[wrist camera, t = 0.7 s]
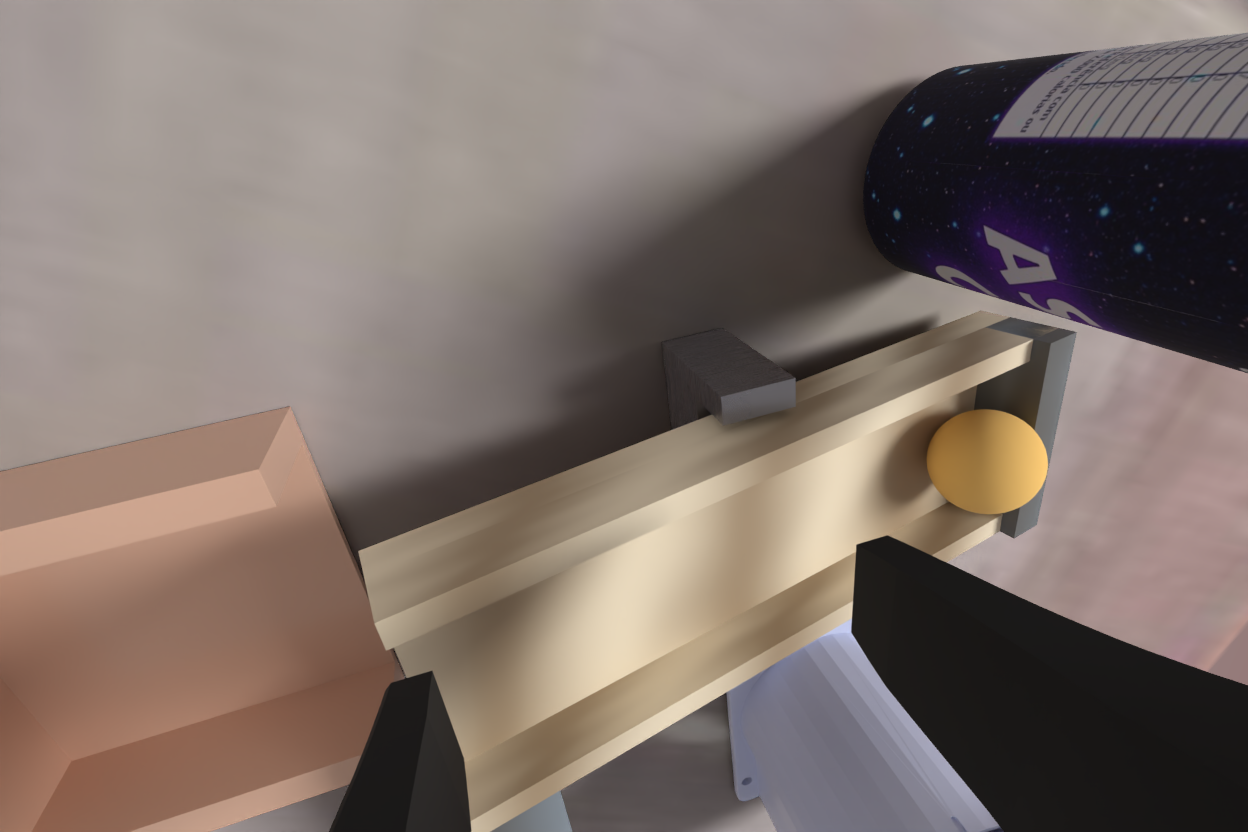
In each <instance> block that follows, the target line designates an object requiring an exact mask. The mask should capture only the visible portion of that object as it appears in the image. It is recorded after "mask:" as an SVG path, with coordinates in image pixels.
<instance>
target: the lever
mask: <svg viewBox="0 0 1248 832" xmlns="http://www.w3.org/2000/svg"><path fill="white" fill-rule="evenodd" d="M1076 333H1077V332H1074V331H1069V330H1065V329H1060V328H1056V327H1051V326H1047V325H1042V324H1038V323H1034V322H1029V321H1025V320H1020V319H1016V318H1011V317H1007V316H1002V315H998V314H993V313H989V312H984V311H979V312H976V313H974V314H971V315H968V316H966V317H963V318H961V319H958V320H955V321H953V322H950V323H948V324H945V325H942V326H940V327H937V328H935V329H932V330H930V331H927V332H924V333H922V334H919V335H917V336H914V337H911V338H909V339H906V340H904V341H901V342H898V343H896V344H893V345H891V346H888V347H885V348H883V349H880V350H878V351H875V352H873V353H870V354H867V355H865V356H862V357H860V358H857V359H854V360H852V361H849V362H847V363H844V364H841V365H839V366H836V367H834V368H831V369H828V370H826V371H823V372H821V373H818V374H816V375H813V376H810V377H808V378H805V379H803V380H800V381H797V382H796V407H793V408H789V409H785V410H781V411H778V412H774V413H770V414H766V415H762V416H759V417H755V418H751V419H747V420H743V421H740V422H736V423H732V424H728V425H724V426H723V425H722V424H721V423H720V422H719V421H718V420H717V419H716V418H715V417H714V416H713V415H709V416H707V417H704V418H702V419H699V420H696V421H694V422H691V423H689V424H686V425H683V426H681V427H678V428H676V429H673V430H671V431H668V432H665V433H663V434H660V435H658V436H655V437H652V438H650V439H647V440H645V441H642V442H639V443H637V444H634V445H632V446H629V447H626V448H624V449H621V450H619V451H616V452H614V453H611V454H608V455H606V456H603V457H601V458H598V459H595V460H593V461H590V462H588V463H585V464H582V465H580V466H577V467H575V468H572V469H570V470H567V471H564V472H562V473H559V474H557V475H554V476H551V477H549V478H546V479H544V480H541V481H538V482H536V483H533V484H531V485H528V486H525V487H523V488H520V489H518V490H515V491H513V492H510V493H507V494H505V495H502V496H500V497H497V498H494V499H492V500H489V501H487V502H484V503H481V504H479V505H476V506H474V507H471V508H469V509H466V510H463V511H461V512H458V513H456V514H453V515H450V516H448V517H445V518H443V519H440V520H437V521H435V522H432V523H430V524H427V525H424V526H422V527H419V528H417V529H414V530H412V531H409V532H406V533H404V534H401V535H399V536H396V537H393V538H391V539H388V540H386V541H383V542H380V543H378V544H375V545H373V546H370V547H368V548H365V549H362V550H360V551H358V552H359V557H360V561H361V566H362V570H363V575H364V579H365V584H366V588H367V593H368V597H369V602H370V606H371V611H372V615H373V620H374V624H375V626H376V628H377V631H378V633H379V635H380V638H381V640H382V642H383V645H384V647H385V649H386V651H387V650H389V649H391V648H394V649H395V652H396V654H397V657H398V659H399V661H400V664H401V666H402V668H403V671H404V673H405V675H406V678H409V677H412V676H416V675H419V674H422V673H426V672H429V671H433V674H434V676H435V679H436V682H437V685H438V687H439V690H440V693H441V696H442V699H443V701H444V704H445V707H446V710H447V712H448V715H449V718H450V721H451V724H452V726H453V729H454V732H455V735H456V737H457V740H458V743H459V746H460V748H461V751H462V754H463V757H464V762H465V771H466V780H467V790H468V799H469V810H470V820H471V832H572V828H571V825H570V822H569V818H568V815H567V811H566V808H565V805H564V801H563V798H562V795H561V791H560V790H562V789H563V788H565V787H567V786H569V785H570V784H572V783H574V782H575V781H577V780H579V779H580V778H582V777H584V776H585V775H587V774H589V773H591V772H592V771H594V770H596V769H597V768H599V767H601V766H602V765H604V764H606V763H607V762H609V761H611V760H613V759H614V758H616V757H618V756H619V755H621V754H623V753H624V752H626V751H628V750H630V749H631V748H633V747H635V746H636V745H638V744H640V743H641V742H643V741H645V740H646V739H648V738H650V737H652V736H653V735H655V734H657V733H658V732H660V731H662V730H663V729H665V728H667V727H669V726H670V725H672V724H674V723H675V722H677V721H679V720H680V719H682V718H684V717H685V716H687V715H689V714H691V713H692V712H694V711H696V710H697V709H699V708H701V707H702V706H704V705H706V704H707V703H709V702H711V701H713V700H714V699H716V698H718V697H719V696H721V695H723V694H724V693H726V692H728V691H730V690H731V689H733V688H735V687H736V686H738V685H740V684H741V683H743V682H745V681H746V680H748V679H750V678H752V677H753V676H755V675H757V674H758V673H760V672H762V671H763V670H765V669H767V668H768V667H770V666H772V665H774V664H775V663H777V662H779V661H780V660H782V659H784V658H785V657H787V656H789V655H791V654H792V653H794V652H796V651H797V650H799V649H801V648H802V647H804V646H806V645H807V644H809V643H811V642H813V641H814V640H816V639H818V638H819V637H821V636H823V635H824V634H826V633H828V632H830V631H831V630H833V629H835V628H836V627H838V626H840V625H841V624H843V623H845V622H846V621H848V620H850V619H852V609H853V593H854V576H855V560H856V544H860V543H863V542H866V541H870V540H873V539H877V538H880V537H883V536H887V535H888V536H890V537H893V538H895V539H897V540H900V541H902V542H904V543H906V544H908V545H911V546H913V547H915V548H917V549H919V550H921V551H923V552H925V553H928V554H930V555H932V556H934V557H936V558H938V559H940V560H942V561H944V562H948V561H950V560H952V559H953V558H955V557H957V556H958V555H960V554H962V553H963V552H965V551H967V550H968V549H970V548H972V547H974V546H975V545H977V544H979V543H980V542H982V541H984V540H985V539H987V538H989V537H991V536H992V535H994V534H996V533H997V532H999V531H1001V532H1003V533H1005V534H1007V535H1008V536H1010V537H1012V538H1016V537H1017V536H1019V535H1021V534H1022V533H1024V532H1026V531H1027V530H1029V529H1031V528H1032V527H1034V526H1035V525H1037V521H1038V516H1039V511H1040V506H1041V502H1042V497H1043V492H1044V487H1045V482H1046V478H1047V475H1046V478H1045V481H1044V483H1043V485H1042V487H1041V489H1040V490H1039V491H1038V493H1037V494H1036V495H1035V496H1034V497H1033V498H1032V499H1031V500H1030V501H1029V502H1027V503H1026V504H1024V505H1023V506H1021V507H1019V508H1017V509H1015V510H1012V511H1009V512H1005V513H1000V514H979V513H974V512H970V511H967V510H964V509H962V508H959V507H957V506H956V505H954V504H952V503H951V502H949V501H948V500H947V499H946V498H944V497H943V496H942V495H941V494H940V493H939V491H938V490H937V489H936V487H935V486H934V484H933V482H932V480H931V478H930V476H929V473H928V469H927V451H928V447H929V444H930V441H931V439H932V437H933V436H934V434H935V433H936V432H937V430H938V429H939V428H940V427H941V426H942V425H943V424H944V423H945V422H947V421H948V420H950V419H951V418H953V417H955V416H957V415H959V414H961V413H964V412H968V411H973V410H980V409H989V410H997V411H1002V412H1006V413H1009V414H1012V415H1014V416H1016V417H1018V418H1020V419H1021V420H1023V421H1024V422H1026V423H1027V424H1028V425H1029V426H1031V427H1032V428H1033V429H1034V431H1035V432H1036V433H1037V434H1038V435H1039V437H1040V439H1041V440H1042V442H1043V444H1044V447H1045V449H1046V453H1047V458H1048V468H1049V463H1050V458H1051V453H1052V449H1053V444H1054V439H1055V434H1056V429H1057V425H1058V420H1059V415H1060V410H1061V405H1062V400H1063V396H1064V391H1065V386H1066V381H1067V376H1068V372H1069V367H1070V362H1071V357H1072V352H1073V347H1074V343H1075V338H1076ZM1047 473H1048V469H1047Z"/></svg>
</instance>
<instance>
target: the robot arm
mask: <svg viewBox="0 0 1248 832" xmlns="http://www.w3.org/2000/svg"><path fill="white" fill-rule="evenodd" d="M726 695H727V706H728V718H729V729H730V741H731V752H732V764H733V776H734V787H735V793H736V795H737V797H738V799H739V800H740V801H748V800H751V799H754V798H756V797H759V796H760V798H761V800H762V802H763V804H764V806H765V808H766V810H767V812H768V814H769V816H770V818H771V820H772V822H773V824H774V826H775V828H776V830H777V832H1248V685H1245V684H1242V683H1238V682H1236V681H1233V680H1230V679H1226V678H1223V677H1220V676H1217V675H1214V674H1211V673H1208V672H1205V671H1203V670H1200V669H1197V668H1194V667H1191V666H1189V665H1186V664H1183V663H1180V662H1177V661H1175V660H1172V659H1169V658H1166V657H1164V656H1161V655H1158V654H1155V653H1152V652H1150V651H1147V650H1144V649H1141V648H1139V647H1136V646H1134V645H1131V644H1128V643H1126V642H1123V641H1121V640H1118V639H1116V638H1113V637H1111V636H1108V635H1106V634H1104V633H1101V632H1099V631H1096V630H1094V629H1092V628H1089V627H1087V626H1084V625H1082V624H1080V623H1077V622H1075V621H1072V620H1070V619H1067V618H1065V617H1063V616H1061V615H1058V614H1056V613H1054V612H1051V611H1049V610H1047V609H1045V608H1042V607H1040V606H1038V605H1036V604H1033V603H1031V602H1029V601H1027V600H1025V599H1022V598H1020V597H1018V596H1016V595H1014V594H1012V593H1009V592H1007V591H1005V590H1003V589H1001V588H999V587H997V586H994V585H992V584H990V583H988V582H986V581H984V580H982V579H980V578H978V577H975V576H973V575H971V574H969V573H967V572H965V571H963V570H961V569H959V568H957V567H955V566H953V565H950V564H948V563H946V562H944V561H942V560H940V559H938V558H936V557H934V556H932V555H930V554H928V553H925V552H923V551H921V550H919V549H917V548H915V547H913V546H911V545H908V544H906V543H904V542H902V541H900V540H897V539H895V538H893V537H890V536H888V535H887V536H883V537H880V538H877V539H873V540H870V541H866V542H863V543H860V544H856V560H855V576H854V593H853V609H852V619H850V620H848V621H846V622H845V623H843V624H841V625H840V626H838V627H836V628H835V629H833V630H831V631H830V632H828V633H826V634H824V635H823V636H821V637H819V638H818V639H816V640H814V641H813V642H811V643H809V644H807V645H806V646H804V647H802V648H801V649H799V650H797V651H796V652H794V653H792V654H791V655H789V656H787V657H785V658H784V659H782V660H780V661H779V662H777V663H775V664H774V665H772V666H770V667H768V668H767V669H765V670H763V671H762V672H760V673H758V674H757V675H755V676H753V677H752V678H750V679H748V680H746V681H745V682H743V683H741V684H740V685H738V686H736V687H735V688H733V689H731V690H730V691H728V692H726ZM329 832H471V820H470V810H469V799H468V790H467V780H466V771H465V762H464V757H463V754H462V751H461V748H460V746H459V743H458V740H457V737H456V735H455V732H454V729H453V726H452V724H451V721H450V718H449V715H448V712H447V710H446V707H445V704H444V701H443V699H442V696H441V693H440V690H439V687H438V685H437V682H436V679H435V676H434V674H433V671H429V672H426V673H422V674H419V675H416V676H412V677H409V678H405V679H402V680H399V681H395V682H392V683H390V685H389V686H388V687H387V689H386V690H385V693H384V696H383V699H382V701H381V704H380V707H379V710H378V713H377V716H376V718H375V721H374V724H373V727H372V729H371V732H370V735H369V737H368V740H367V742H366V745H365V748H364V750H363V753H362V755H361V758H360V760H359V763H358V765H357V768H356V770H355V773H354V775H353V778H352V780H351V782H350V785H349V787H348V789H347V792H346V794H345V796H344V798H343V801H342V803H341V805H340V808H339V810H338V812H337V815H336V817H335V819H334V821H333V824H332V826H331V828H330V831H329Z"/></svg>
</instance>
